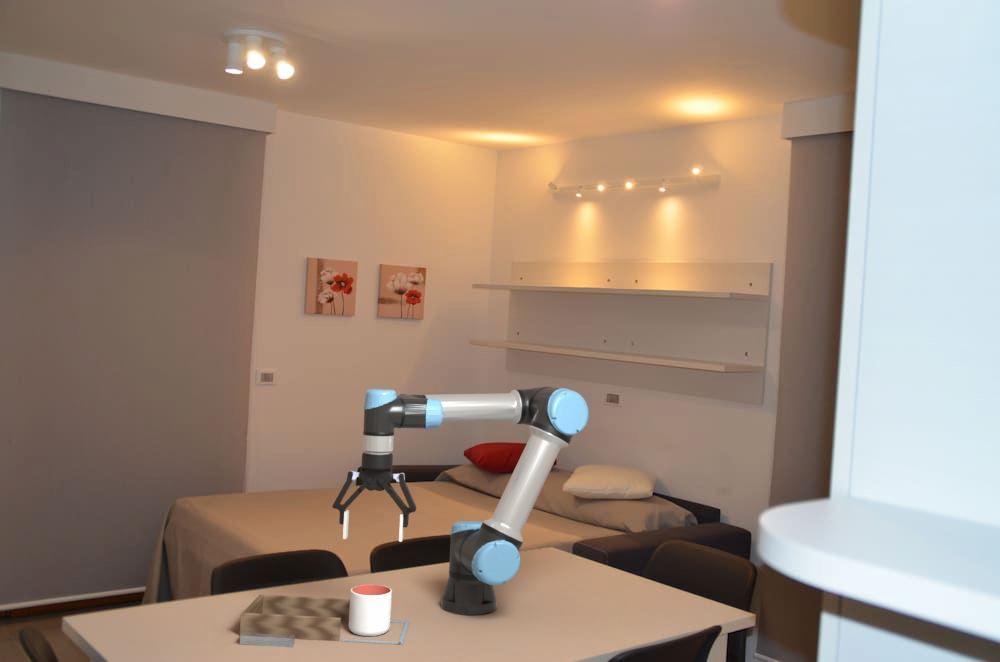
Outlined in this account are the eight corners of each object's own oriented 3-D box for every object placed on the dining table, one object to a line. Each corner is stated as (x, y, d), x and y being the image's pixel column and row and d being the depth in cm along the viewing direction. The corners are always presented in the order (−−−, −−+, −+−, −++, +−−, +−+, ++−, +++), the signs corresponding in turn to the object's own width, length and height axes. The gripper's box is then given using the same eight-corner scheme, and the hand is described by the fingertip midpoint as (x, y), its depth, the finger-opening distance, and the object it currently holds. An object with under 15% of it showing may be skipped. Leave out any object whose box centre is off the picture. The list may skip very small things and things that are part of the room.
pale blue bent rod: (409, 621, 220) (409, 620, 220) (402, 644, 203) (402, 643, 203) (352, 618, 220) (352, 617, 220) (340, 641, 203) (340, 640, 203)
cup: (382, 639, 205) (384, 597, 206) (342, 635, 207) (344, 593, 207) (394, 627, 215) (397, 586, 216) (356, 622, 217) (358, 582, 217)
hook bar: (296, 641, 201) (296, 632, 201) (292, 647, 197) (292, 638, 197) (244, 638, 201) (245, 629, 201) (239, 644, 197) (240, 635, 197)
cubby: (350, 619, 219) (351, 599, 220) (338, 640, 203) (339, 619, 203) (258, 614, 219) (259, 594, 219) (239, 635, 203) (241, 614, 203)
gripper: (429, 452, 216) (425, 538, 216) (329, 448, 216) (325, 533, 215) (427, 456, 209) (422, 545, 208) (323, 451, 208) (319, 540, 208)
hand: (373, 539), depth 212 cm, fingers open, 13 cm apart
